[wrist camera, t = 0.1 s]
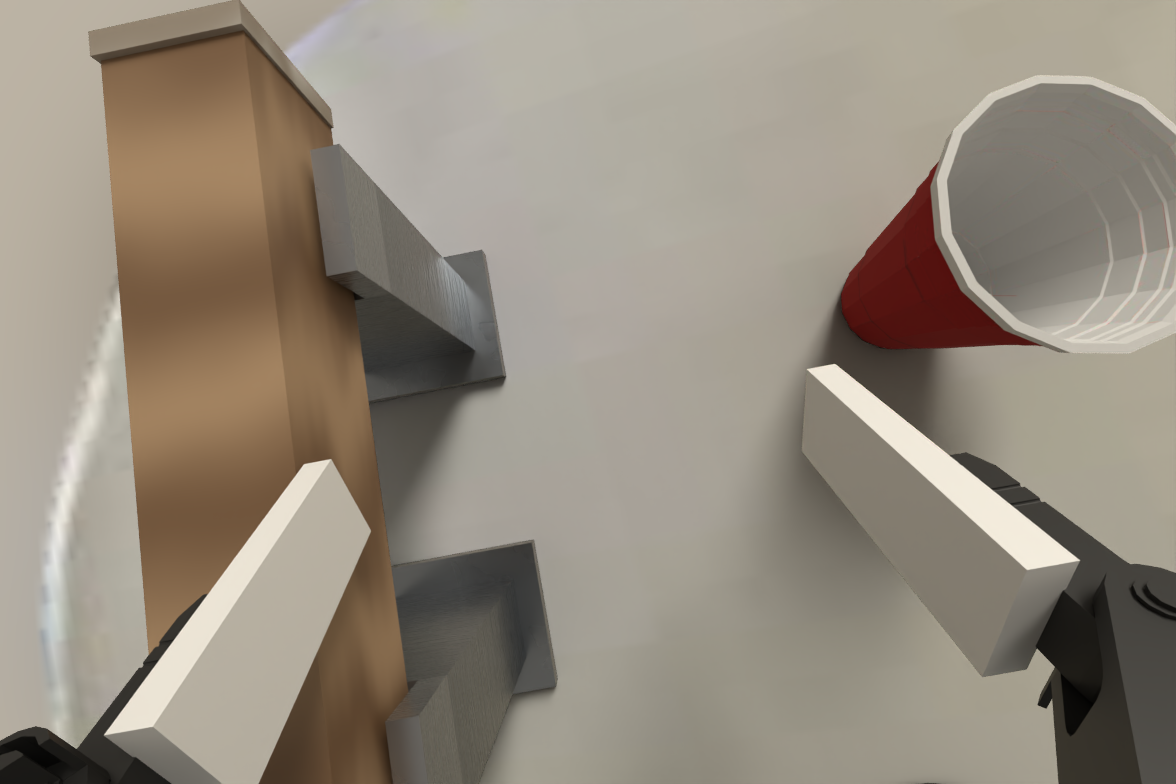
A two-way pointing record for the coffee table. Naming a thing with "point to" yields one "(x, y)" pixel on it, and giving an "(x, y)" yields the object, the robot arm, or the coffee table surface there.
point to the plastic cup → (1032, 229)
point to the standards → (455, 582)
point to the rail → (242, 351)
